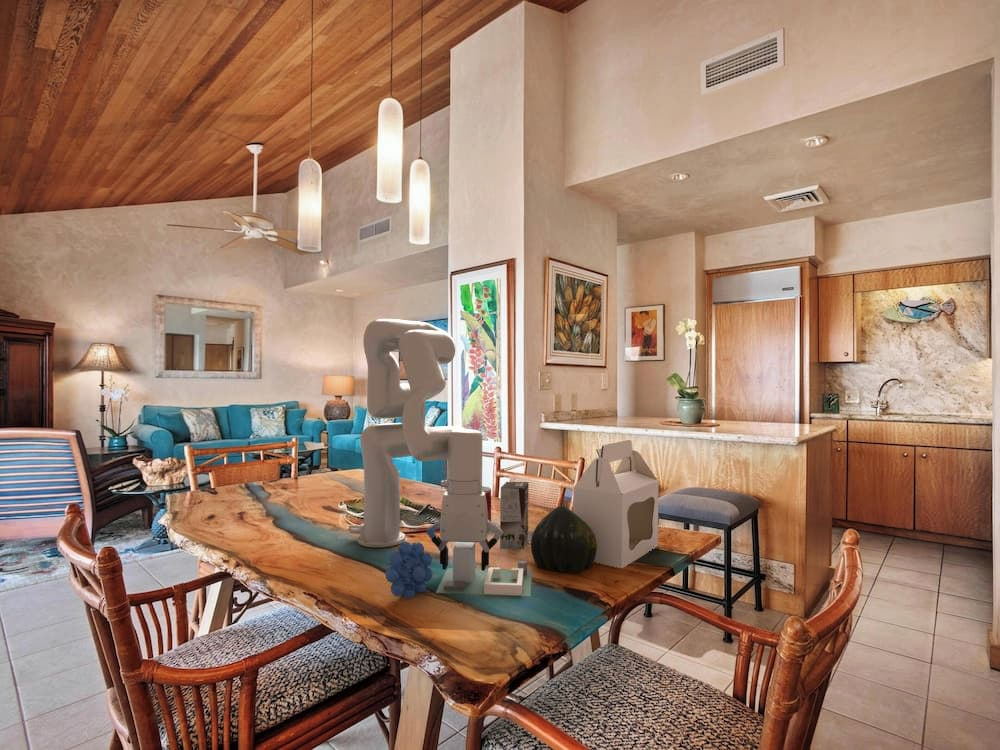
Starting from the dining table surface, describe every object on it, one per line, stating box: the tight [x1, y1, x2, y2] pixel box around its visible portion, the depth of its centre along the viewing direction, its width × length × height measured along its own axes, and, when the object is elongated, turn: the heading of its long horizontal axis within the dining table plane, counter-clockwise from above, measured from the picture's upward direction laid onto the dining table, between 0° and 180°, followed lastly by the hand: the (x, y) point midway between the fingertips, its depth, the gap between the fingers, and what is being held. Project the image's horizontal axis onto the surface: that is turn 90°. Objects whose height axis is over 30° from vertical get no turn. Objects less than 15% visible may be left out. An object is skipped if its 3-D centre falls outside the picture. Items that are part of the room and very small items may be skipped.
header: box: [484, 566, 523, 596], centre depth 112 cm, size 8×10×2 cm
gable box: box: [572, 439, 659, 569], centre depth 138 cm, size 22×13×28 cm, turn 142°
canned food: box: [482, 485, 492, 522], centre depth 161 cm, size 8×8×11 cm
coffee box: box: [499, 481, 530, 550], centre depth 143 cm, size 9×6×16 cm
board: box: [435, 560, 533, 597], centre depth 114 cm, size 19×14×4 cm
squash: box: [530, 504, 597, 575], centre depth 125 cm, size 14×15×15 cm
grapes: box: [385, 541, 433, 599], centre depth 106 cm, size 12×7×12 cm, turn 141°
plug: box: [452, 542, 476, 583], centre depth 117 cm, size 4×7×7 cm, turn 175°
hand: (464, 567), depth 116 cm, fingers open, 7 cm apart
